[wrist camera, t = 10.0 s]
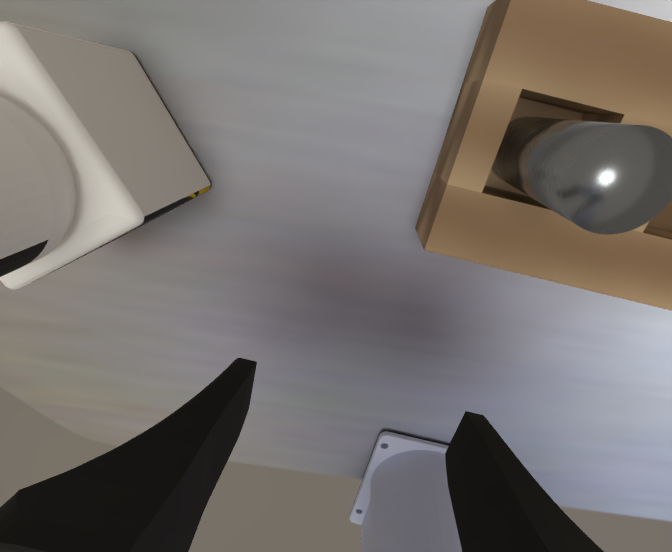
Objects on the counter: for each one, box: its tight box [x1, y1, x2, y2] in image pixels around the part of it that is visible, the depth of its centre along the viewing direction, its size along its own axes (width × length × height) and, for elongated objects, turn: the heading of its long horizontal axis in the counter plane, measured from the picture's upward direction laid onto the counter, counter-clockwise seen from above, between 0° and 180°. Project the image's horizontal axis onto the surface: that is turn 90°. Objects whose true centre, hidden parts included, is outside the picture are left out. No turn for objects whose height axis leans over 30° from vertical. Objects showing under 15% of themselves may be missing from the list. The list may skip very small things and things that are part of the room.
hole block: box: [416, 0, 672, 310], centre depth 17 cm, size 10×14×4 cm
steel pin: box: [492, 117, 672, 235], centre depth 14 cm, size 3×3×8 cm
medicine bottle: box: [0, 21, 211, 289], centre depth 14 cm, size 7×7×12 cm
